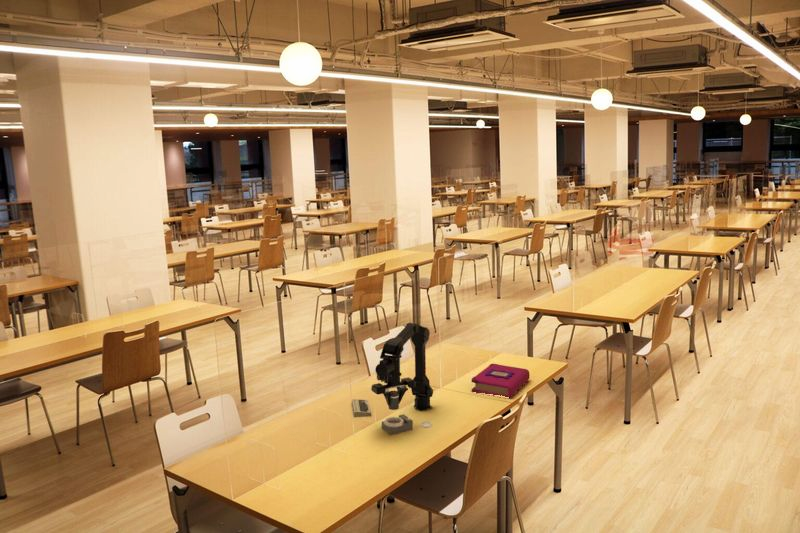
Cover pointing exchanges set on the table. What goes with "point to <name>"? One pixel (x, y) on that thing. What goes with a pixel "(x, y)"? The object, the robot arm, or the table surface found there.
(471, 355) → the table surface
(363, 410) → the computer
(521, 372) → the book
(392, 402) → the lens
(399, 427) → the camera body
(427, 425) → the pale white disc
